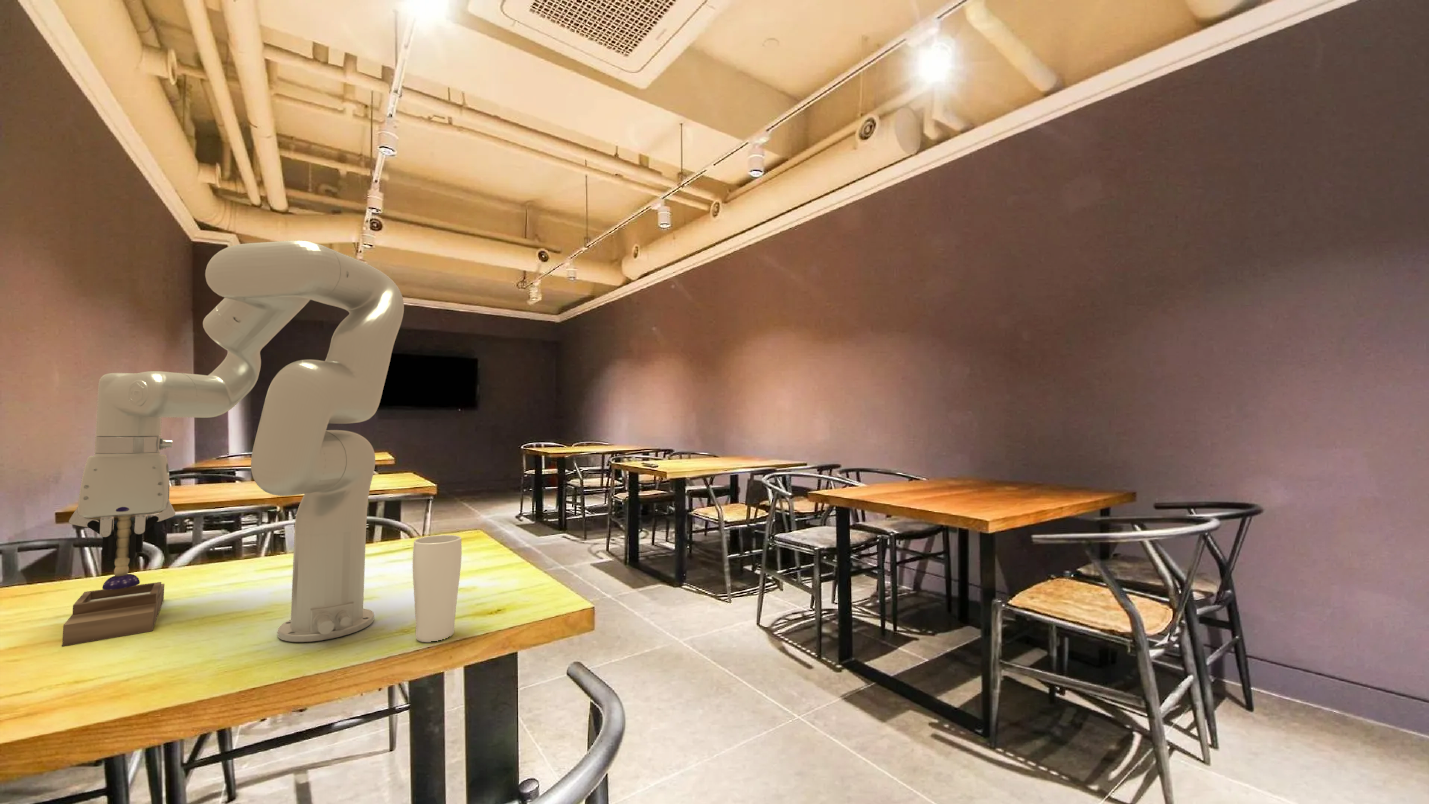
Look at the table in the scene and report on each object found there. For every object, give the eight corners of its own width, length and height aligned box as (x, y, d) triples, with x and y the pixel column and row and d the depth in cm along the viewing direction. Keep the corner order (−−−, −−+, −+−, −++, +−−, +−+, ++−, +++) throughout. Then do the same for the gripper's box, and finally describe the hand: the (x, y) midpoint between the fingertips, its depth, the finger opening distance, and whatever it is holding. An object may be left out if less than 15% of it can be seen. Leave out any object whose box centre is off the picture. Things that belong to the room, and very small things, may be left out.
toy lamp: (149, 580, 94) (151, 483, 94) (134, 588, 90) (135, 486, 90) (111, 584, 92) (113, 484, 93) (94, 592, 88) (95, 488, 88)
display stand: (152, 631, 86) (153, 601, 86) (61, 646, 80) (63, 614, 80) (163, 600, 101) (164, 575, 101) (88, 610, 95) (90, 584, 95)
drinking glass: (467, 629, 88) (470, 535, 88) (442, 646, 81) (445, 544, 82) (428, 628, 88) (430, 534, 89) (399, 644, 82) (403, 542, 82)
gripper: (194, 445, 100) (189, 548, 99) (61, 447, 89) (54, 561, 89) (192, 447, 94) (187, 555, 93) (49, 449, 84) (42, 571, 83)
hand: (122, 557), depth 91 cm, fingers closed on toy lamp
